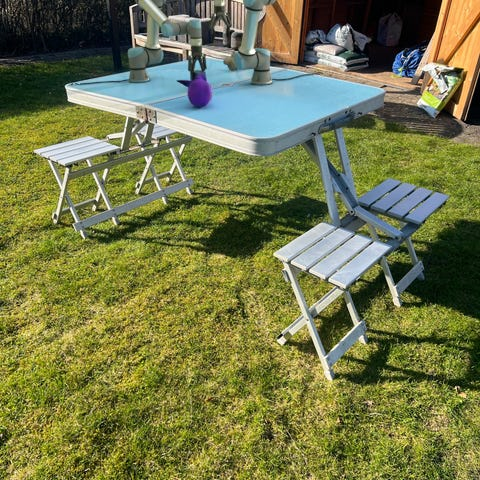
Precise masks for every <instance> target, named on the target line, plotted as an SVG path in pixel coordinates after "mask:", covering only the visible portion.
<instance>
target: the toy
mask: <svg viewBox="0 0 480 480" xmlns="http://www.w3.org/2000/svg"><path fill="white" fill-rule="evenodd" d="M176 82H177V83H179V84H181V85H183V86H185V87H186V88H187V98H188V101H189V102H190V104H191V105H193V106H194V107H199V108H204V107H206V106H207V105H208V104H209V103H210V102H211V101H212V100H213V95H214V92H213V88H212V86H211V84H210V83H209V82H208V79H207V75H206V76H204V75H200V76H197V77H195V80H194V81H191V79H177V80H176Z"/></svg>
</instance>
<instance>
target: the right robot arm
mask: <svg viewBox="0 0 480 480" xmlns="http://www.w3.org/2000/svg"><path fill="white" fill-rule="evenodd" d="M276 1H277V0H242V3H243V5H244V8H245V10H246V12H245V18H244V25H243V32H242V39H241V45H240V46H239V47H238V50H237V52H235V54H234V63H235V66H236V68H237V69H238V70H237V71H248V70H253V73H252V75H251V79H250V84H252V85H255V86H268V85H272V84H273V81H289V80H292V79H295V78H299V77H304V76H311V75H312V76H314V75H319V74H321V75H323V74H324V73H323V72H322V71H318V72H313V73H312V72H311V73H304V74H299V75H296V76H292V77H287V78H272V74H271V51H270V49H268V48H267V49H266V48H259V47H258V48H257V47H255V44H256V38H257V31H258V27H259V26H258V25H259V20H260V15H261V13H262V12H263V10H264V6H270V5H273V4H274V3H275V2H276ZM225 3H226V0H213V5H214V13H211V15H210V20H209V23H208V29H209V30H210V34H211V39H213V40H215V39H216V29H215V27H216V25H217V24H218V21H223V23H224V25H225V26H226V27H225V32H226V33H225V34H226V38H230V37H231V36H230V33H231V28H232V27H233V23H232V20H231V18H230V15H229V12H226V6H225V5H226V4H225Z"/></svg>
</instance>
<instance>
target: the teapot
mask: <svg viewBox="0 0 480 480" xmlns="http://www.w3.org/2000/svg"><path fill="white" fill-rule="evenodd" d="M235 53H236V50H232V53H231V54H230V57H229V56H226V57H224V59H223V60H222V61H223V62H222V63H223V65H225V66H227V69H228V70H229V71H231V72H233V71H234V72H235V71H239V70H238V69H237V68H236V66H235V63H234V54H235Z"/></svg>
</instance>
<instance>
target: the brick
mask: <svg viewBox="0 0 480 480" xmlns="http://www.w3.org/2000/svg"><path fill="white" fill-rule="evenodd" d="M200 70H201V69H194V72H195V77H197V76H200V75H204V76H206V77H207V74H206V72H207V71H200ZM189 78H190V79H189V80H190V81H192V77H191V72H190V71H189Z"/></svg>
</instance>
